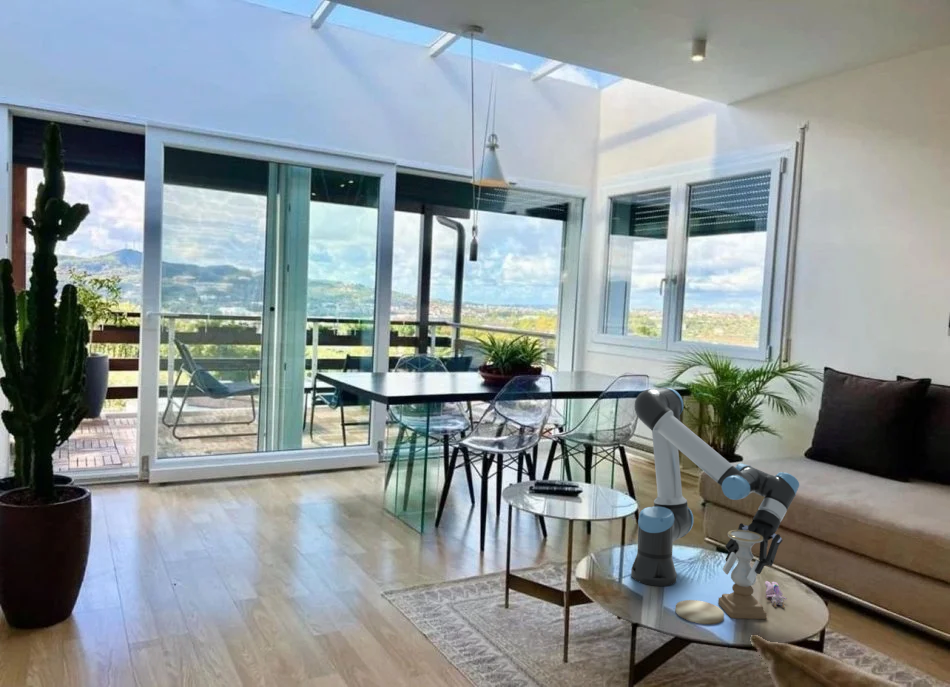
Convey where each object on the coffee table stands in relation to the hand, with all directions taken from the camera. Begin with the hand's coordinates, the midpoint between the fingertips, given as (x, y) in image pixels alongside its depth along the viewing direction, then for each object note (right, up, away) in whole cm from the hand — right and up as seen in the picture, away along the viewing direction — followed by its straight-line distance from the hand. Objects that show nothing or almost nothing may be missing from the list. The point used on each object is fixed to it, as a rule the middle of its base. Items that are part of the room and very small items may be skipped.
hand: (737, 576), depth 206 cm
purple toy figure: (+17, -12, +12) cm, 24 cm away
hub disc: (-12, -11, -1) cm, 16 cm away
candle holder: (+2, -12, +3) cm, 12 cm away
